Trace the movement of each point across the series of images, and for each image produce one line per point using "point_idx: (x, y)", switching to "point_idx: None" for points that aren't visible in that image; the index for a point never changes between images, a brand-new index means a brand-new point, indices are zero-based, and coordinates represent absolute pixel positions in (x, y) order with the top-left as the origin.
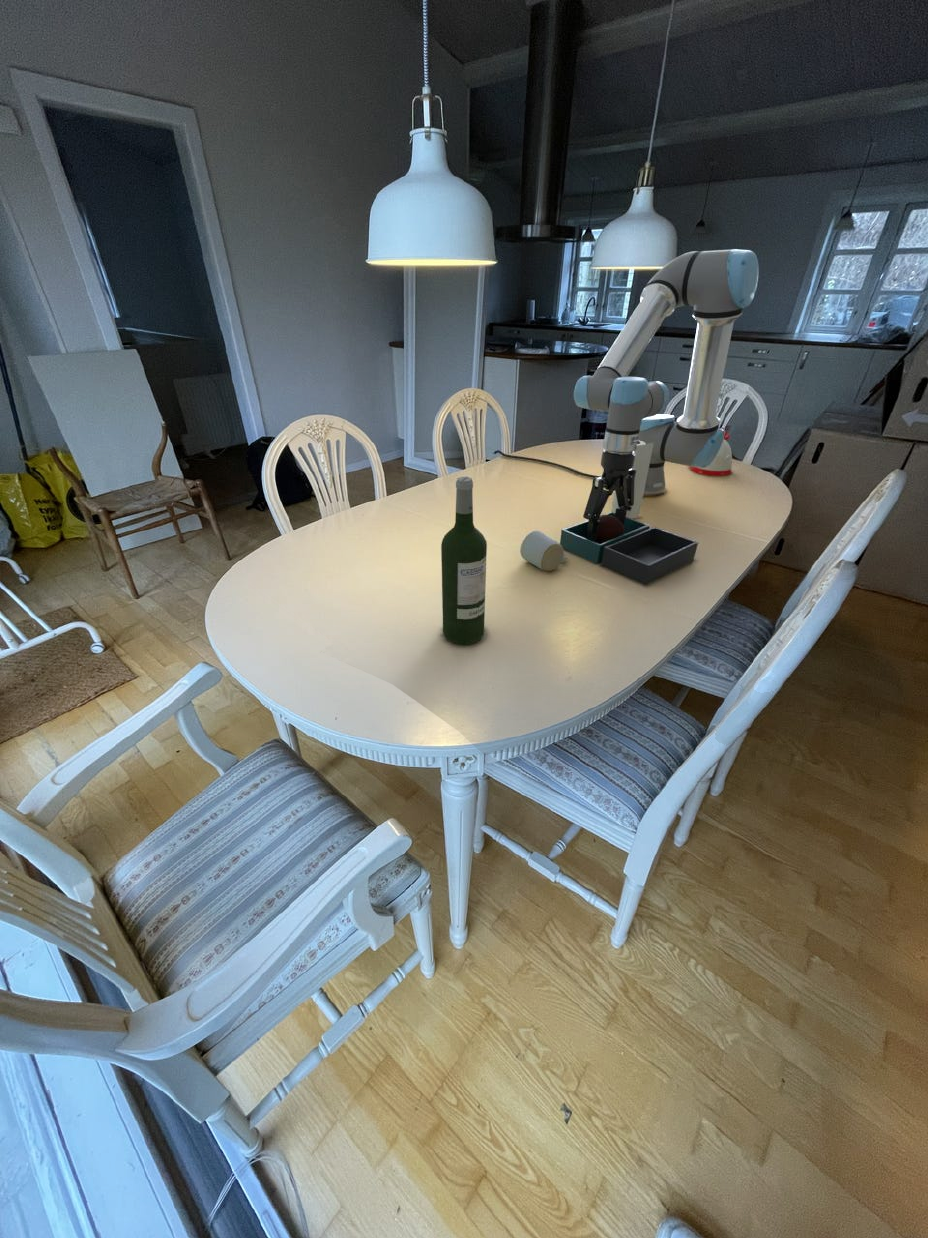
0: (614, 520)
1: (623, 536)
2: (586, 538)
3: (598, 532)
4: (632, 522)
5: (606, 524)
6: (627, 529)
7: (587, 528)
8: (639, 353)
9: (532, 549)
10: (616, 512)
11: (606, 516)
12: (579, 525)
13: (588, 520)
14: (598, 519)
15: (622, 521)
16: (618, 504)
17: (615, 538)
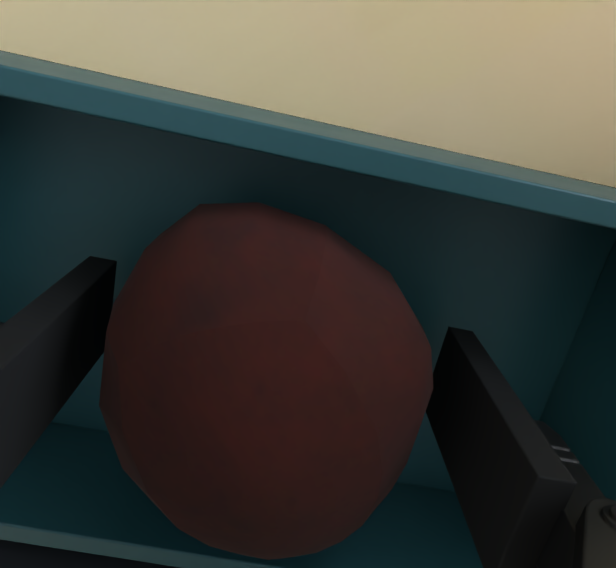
0: (235, 543)
1: (195, 566)
2: (281, 158)
3: (58, 410)
4: (604, 479)
5: (137, 483)
6: (579, 399)
7: (192, 211)
8: None
9: None
10: (513, 459)
11: (230, 469)
12: (141, 124)
13: (328, 151)
14: (153, 388)
15: (456, 486)
16: (579, 541)
17: (91, 547)
